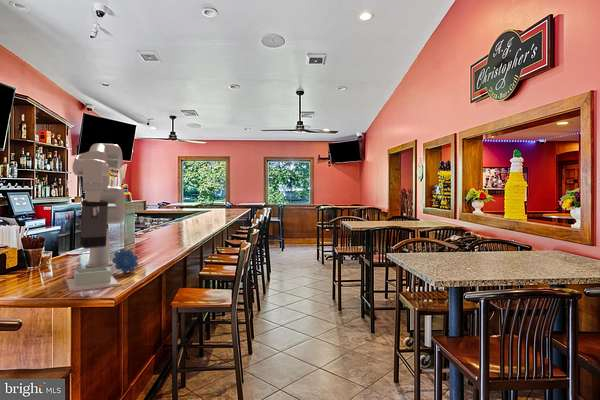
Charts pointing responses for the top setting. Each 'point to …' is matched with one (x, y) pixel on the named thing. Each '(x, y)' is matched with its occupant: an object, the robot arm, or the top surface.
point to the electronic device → (93, 224)
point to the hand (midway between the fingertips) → (92, 229)
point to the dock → (91, 279)
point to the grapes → (125, 260)
